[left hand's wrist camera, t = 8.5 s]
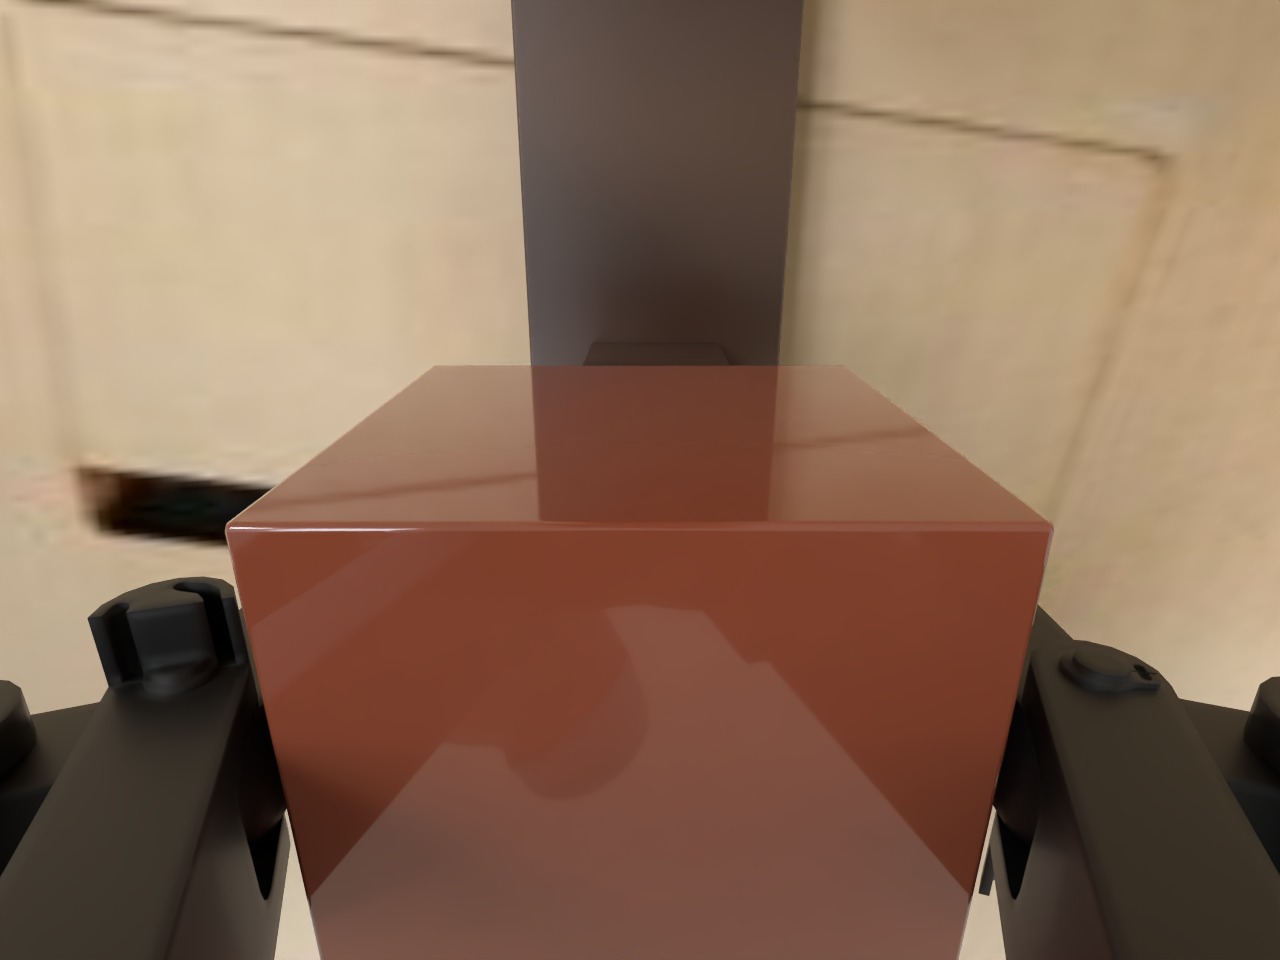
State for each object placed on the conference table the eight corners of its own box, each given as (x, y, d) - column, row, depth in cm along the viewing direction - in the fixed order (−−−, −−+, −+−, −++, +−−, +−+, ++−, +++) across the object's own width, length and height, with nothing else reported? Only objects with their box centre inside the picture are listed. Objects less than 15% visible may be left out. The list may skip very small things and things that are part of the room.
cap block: (811, 706, 13) (937, 1068, 8) (467, 706, 13) (342, 1068, 8) (846, 364, 11) (1060, 523, 5) (431, 365, 11) (219, 523, 5)
